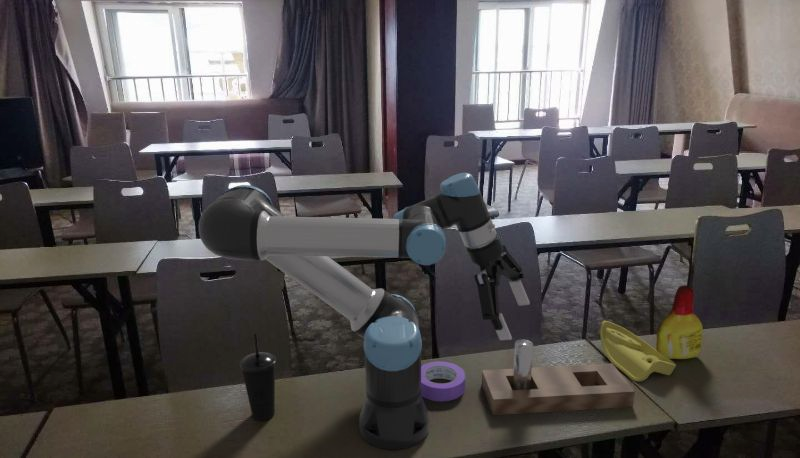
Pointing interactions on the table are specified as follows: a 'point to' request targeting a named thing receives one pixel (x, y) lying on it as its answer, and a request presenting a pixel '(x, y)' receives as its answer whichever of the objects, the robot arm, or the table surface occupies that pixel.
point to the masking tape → (447, 389)
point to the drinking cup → (260, 382)
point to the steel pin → (522, 365)
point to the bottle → (680, 328)
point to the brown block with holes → (558, 389)
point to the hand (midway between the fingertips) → (515, 321)
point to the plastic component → (632, 353)
